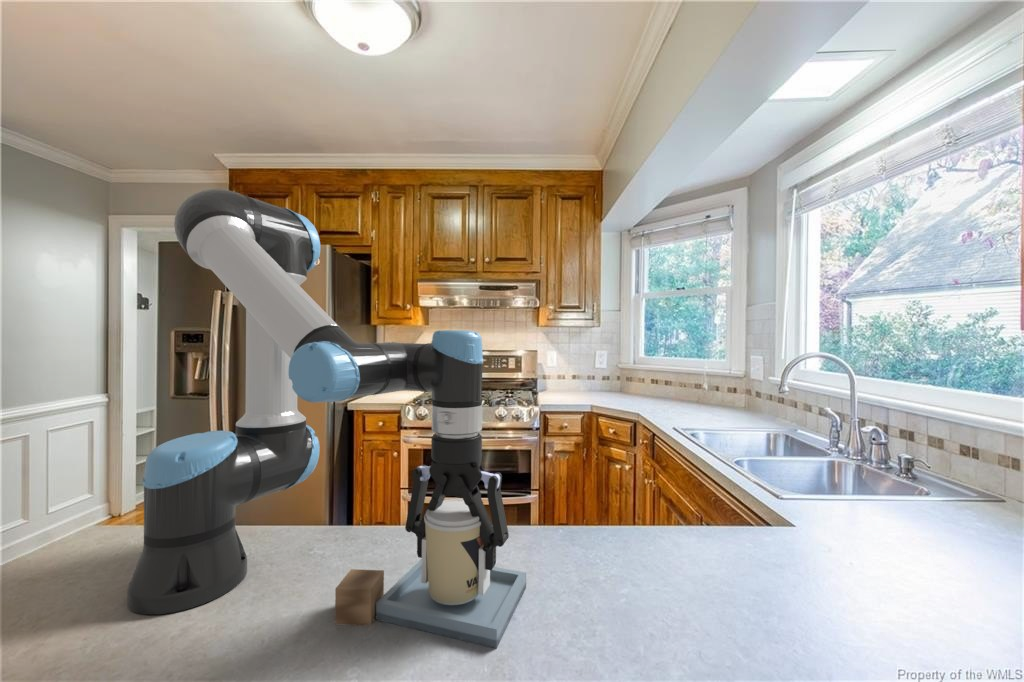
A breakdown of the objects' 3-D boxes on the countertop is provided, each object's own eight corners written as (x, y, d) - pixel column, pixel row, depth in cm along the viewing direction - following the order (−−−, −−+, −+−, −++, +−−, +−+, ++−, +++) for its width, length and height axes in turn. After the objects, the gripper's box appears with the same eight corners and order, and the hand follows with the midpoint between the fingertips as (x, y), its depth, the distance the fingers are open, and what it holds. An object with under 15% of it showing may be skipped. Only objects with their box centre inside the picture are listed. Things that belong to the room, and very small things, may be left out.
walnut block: (335, 624, 58) (335, 588, 58) (350, 602, 63) (351, 569, 63) (370, 626, 58) (370, 589, 58) (383, 603, 63) (383, 570, 63)
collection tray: (375, 619, 59) (376, 602, 59) (425, 568, 72) (425, 554, 72) (496, 648, 54) (496, 629, 54) (526, 587, 67) (526, 572, 67)
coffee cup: (476, 613, 58) (477, 525, 58) (412, 604, 60) (413, 519, 60) (493, 576, 67) (493, 500, 67) (437, 569, 69) (438, 495, 69)
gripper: (381, 432, 63) (379, 584, 63) (517, 444, 56) (516, 613, 56) (408, 423, 70) (406, 560, 70) (531, 433, 64) (530, 583, 64)
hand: (455, 583), depth 63 cm, fingers closed on coffee cup, 8 cm apart
